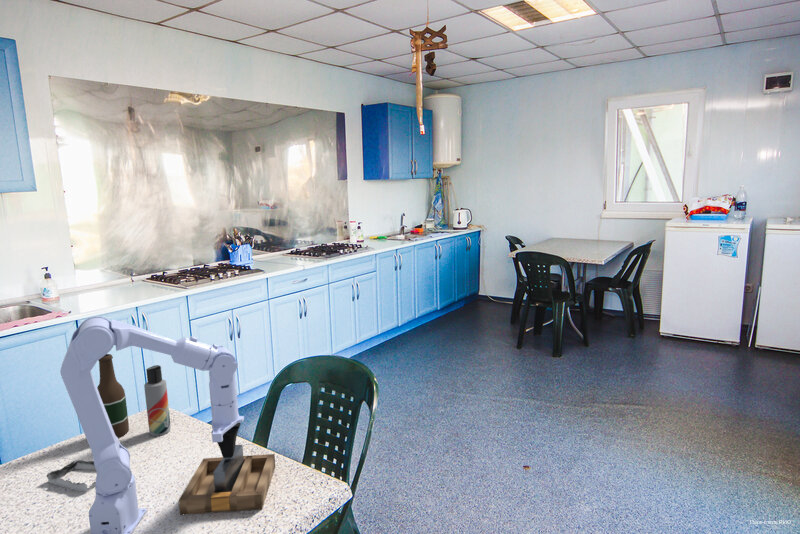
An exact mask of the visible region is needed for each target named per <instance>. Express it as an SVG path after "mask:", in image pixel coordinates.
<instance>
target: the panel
mask: <svg viewBox="0 0 800 534" xmlns="http://www.w3.org/2000/svg"><path fill="white" fill-rule="evenodd" d="M243 448H244V446H243V444H235V451H234V455H233V457H232V458H223V459H222V460H221V462H220V463H219V465H218V466H217V468H216V469H215V471H214V472H213V474H214V486H215V493H220V492H231V491H232V489H233V487H234V484H235V482H236V480H237V477H238V475H239V473H240V470H241V468H242V466H243V464H244V458H243V456H244V449H243Z"/></svg>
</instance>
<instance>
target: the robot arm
mask: <svg viewBox="0 0 800 534" xmlns="http://www.w3.org/2000/svg"><path fill="white" fill-rule="evenodd" d="M114 346H115V351H116V352H118V351H121V350H124V349H126V348H130V347H137V348H141V349H145V350H148V351H153V352H156V353H160V354H163V355H164V354H165V355H168V356H170V357H171V359H172V361H173V362H174V363H175V364H177V365H181V366H186V367H189V368H193V369H195V370H199V371H203V372H205V371H208V377H209V381H208V382H209V383H208V386H209V387H208V388H209V398H210V411H211V421H210V422H211V429H212V430H211V440H212V443H217V445H218V448H219V450H220V453H221V455H222V457H223V458H232V457H233V455H234V451H235V445H236V443H237V442H236V441H237V437H238V433H239V431H240V427H241V424H242V423H243V422H244V420H245V416H244V415H240V414H239V405H238V393H237V381H236V373H235V372H236V371H237V369H238V362H237V359H236V358H235V356H234V355H233V354H232V353H231V351H230V350H229V349H228V348H226V347H224V346H222V345H218V344H216V343H213V344H211V345H210V344H209V343H205V342H203V341H202V342H201V341H199V339H198V338H197V337H195V336H192V335H190V337H187V336H185V337H181V338H179V339H173V338H169V337H167V336H166V335H165V336H164V335H161V334H159V333H156V332H154V331H153V332H152V331H150V330H148V329H145V328H142V327H139V326H137V325H134V324H130V323H128V322H124V321H122V320H118V319H111V321H110V319H108V318H106V317H104V316H100V315H99V316H98V315H97V316H90V317H88V318H86V319H85V320H83V321H82V322H81V323H80V324H79V326H78V327H77V328H76V329H75V330H74V332H73V333H72V335H71V339H70V342H69V345H68V347H67V349H66V353H65V355H64V357H63V358H64V359H63V360H62V364H61V367H60V371H59V372H60V376H61V378H62V382H63V384H64V386H65V388H66V391H67V393H68V396H69V398H70V401H71V404H72V406H73V408H74V411H75V414H76V416H77V418H78V421H79V423H80V426H81V428H82V431H83V433H84V436H85V438H86V440H87V443H88V445H89V448H90V451H91V455H92V459H93V460H92V461H94V465H95V468H96V470H95V471H96V477H95V482H96V486H95V487H94V488H95V489H94V490H95V496H94V497H95V498H94V501H93V503H92V505H91V507H90V509H89V510H88V519H89V527H90V528H89V529H90V534H132V533H133V532H134V530H135V529H136V528H137V526H138V525H139V523H140V521H141V520H142V519H143V517H144V516H145V514H146V512H147V511H148V508H147V507H144V508H141V507H140V508H139V502H138V494H137V485H136V478H135V475H134V474H133V473H132V469H131V462H130V461H131V453H130V451H129V450H128V449H127V448H126V447H125V446H124V445H122V444H121V442H120V440H119V439H120V438H117V436H116V435H115V433H114V430H113V428H112V425H111V423H110V420H109V417H108V415H107V412H106V410H105V407H104V404H103V402H102V399H101V397H100V394H99V391H98V389H97V387H98V386H97V383H96V382H95V379H94V376H93V374H92V369H93V368H94V367H95V365H96V364H97V362H99V361H98V360H99V359H100V358H102V357H103V356H105V355H106V354H109V353H110V352H111V351H112V349H113V347H114Z"/></svg>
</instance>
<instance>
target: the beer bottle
mask: <svg viewBox="0 0 800 534" xmlns="http://www.w3.org/2000/svg"><path fill="white" fill-rule="evenodd" d="M113 358H114V356H113V355H112V354H110V353H107V354H106V355H105V356H103V357H102V358H100V359H99V360H98V361H97V362H98V367H99V369H98V370H99V383H98V386H97V389H98V391H99V394H100V397H101V399H102V402H103V404H104V407H105V410H106V412H107V415H108V417H109V420H110V423H111V425H112V428H113V430H114V433H115V435H116V436H117V438H118V439H120V438H122V437H121V436H123V437H125V436H124V435H125V434H126V435H127V434H128V433H129V431H130V426H129V425H130V424H129V415H128V408H127V407H128V406H127V397H126V392H125V388H124V387H123V386H122V384H121V383H120V382H118V380H117V377H116V374H115V373H116V372H115V369H114V364H113ZM119 437H120V438H119Z"/></svg>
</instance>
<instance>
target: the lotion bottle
mask: <svg viewBox="0 0 800 534" xmlns="http://www.w3.org/2000/svg"><path fill="white" fill-rule="evenodd" d="M145 370H146V382H145V383H144V384H143V385H144V388H143V389H144V395H145V396H144V397H145V405H146V414H147V422H148V423H147V424H148V433H149V435H150V436H152V437H160V436H164V435H167V434H168V433H169V432H171V430H170V429H171V426H172V425H171V418H170V410H169V409H170V407H169V406H170V405H169V398H168V396H169V395H168V388H167V381H166V380H165V379H163V374H162V366H161V365H157V364H156V365H155V364H154V365H153V366H150V367H148V368H146V369H145ZM163 434H164V435H163ZM159 435H160V436H159Z"/></svg>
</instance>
